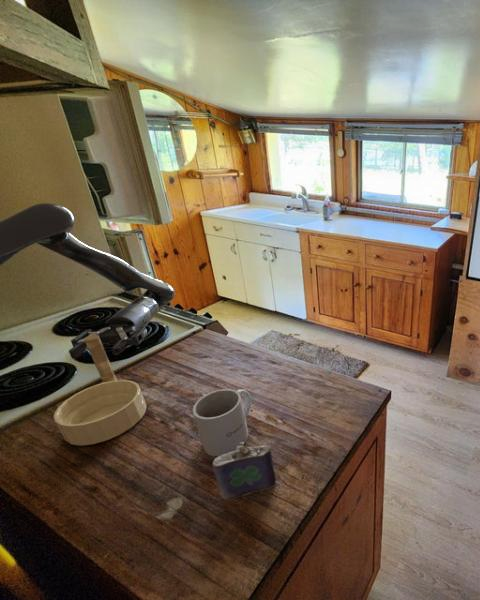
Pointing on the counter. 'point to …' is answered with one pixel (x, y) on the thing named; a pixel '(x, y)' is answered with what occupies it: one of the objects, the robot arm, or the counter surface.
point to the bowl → (100, 412)
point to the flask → (244, 471)
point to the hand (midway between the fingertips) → (93, 353)
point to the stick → (100, 358)
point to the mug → (222, 420)
